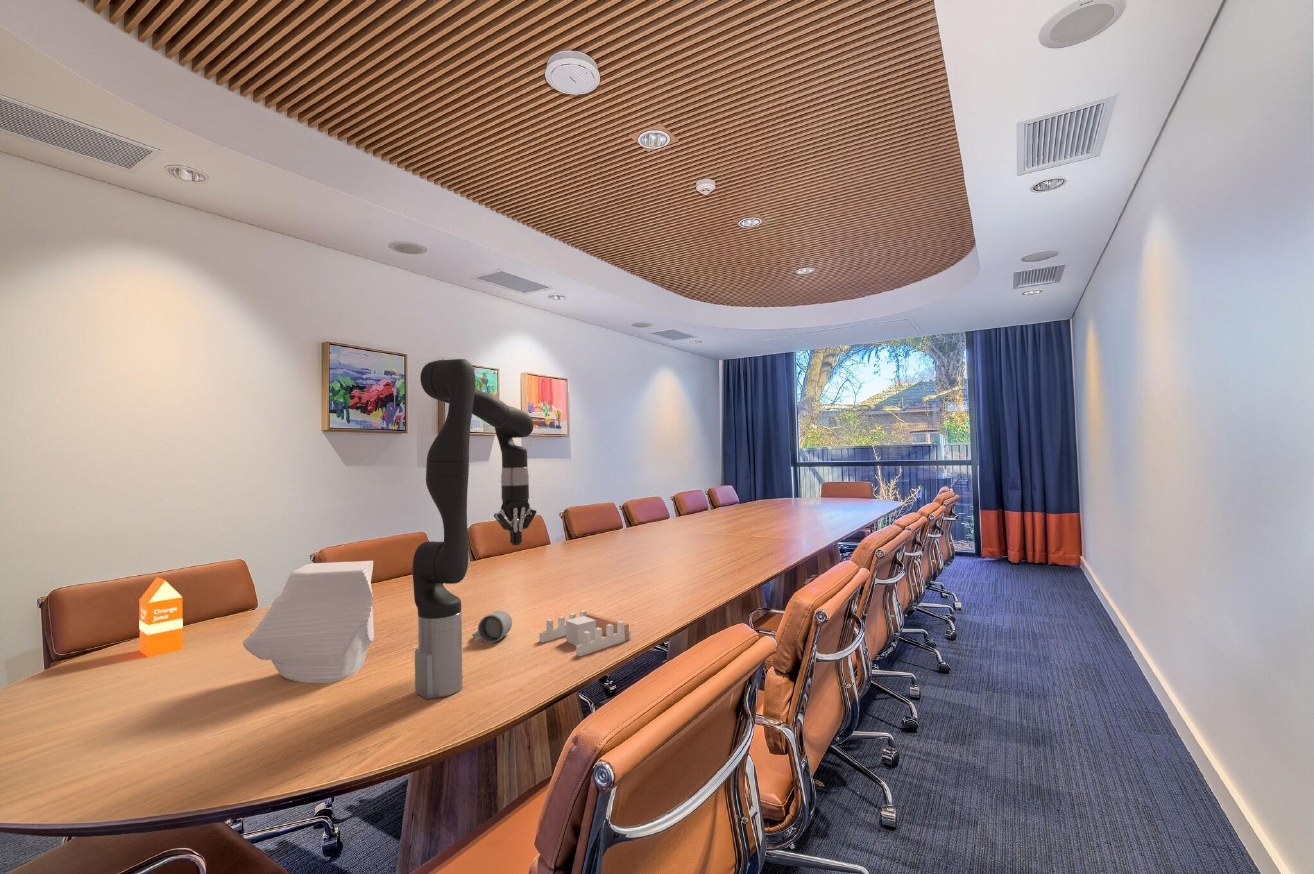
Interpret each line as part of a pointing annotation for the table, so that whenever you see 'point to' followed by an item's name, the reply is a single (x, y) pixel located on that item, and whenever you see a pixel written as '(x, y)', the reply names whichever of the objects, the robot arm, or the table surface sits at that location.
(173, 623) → the orange juice
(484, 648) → the table surface
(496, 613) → the ceramic mug
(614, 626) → the notched wall frame
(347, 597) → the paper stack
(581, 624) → the white cube
